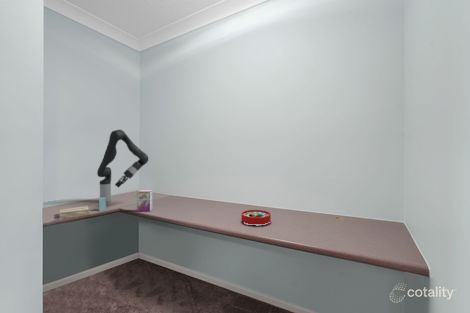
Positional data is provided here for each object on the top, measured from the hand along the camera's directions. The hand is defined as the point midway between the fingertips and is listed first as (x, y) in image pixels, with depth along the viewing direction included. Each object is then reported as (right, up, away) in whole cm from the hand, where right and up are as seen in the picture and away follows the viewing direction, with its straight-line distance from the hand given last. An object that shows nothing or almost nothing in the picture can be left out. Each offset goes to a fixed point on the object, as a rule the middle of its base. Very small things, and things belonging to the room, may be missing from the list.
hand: (116, 186), depth 197 cm
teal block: (-9, -19, -6) cm, 22 cm away
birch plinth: (-22, -19, -19) cm, 35 cm away
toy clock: (+116, -20, -38) cm, 123 cm away
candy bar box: (+27, -19, -8) cm, 34 cm away
